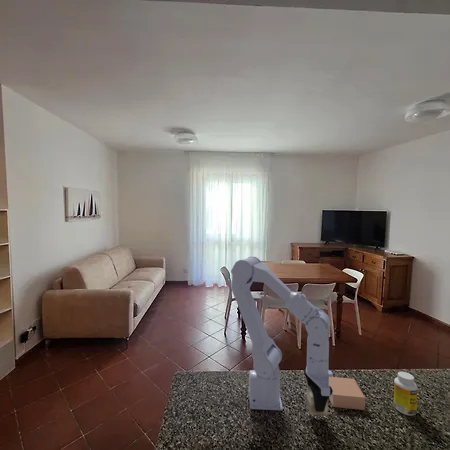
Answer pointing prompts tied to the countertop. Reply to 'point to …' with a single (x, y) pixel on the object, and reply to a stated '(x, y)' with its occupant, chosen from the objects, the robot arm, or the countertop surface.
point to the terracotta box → (346, 393)
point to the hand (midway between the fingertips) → (316, 404)
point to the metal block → (311, 404)
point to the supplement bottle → (405, 394)
